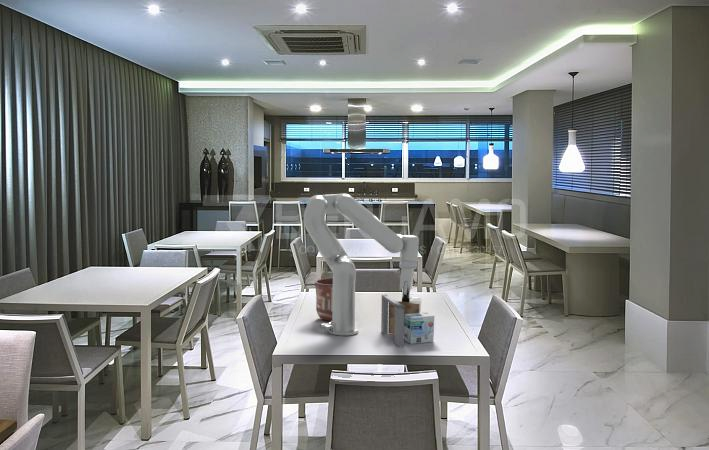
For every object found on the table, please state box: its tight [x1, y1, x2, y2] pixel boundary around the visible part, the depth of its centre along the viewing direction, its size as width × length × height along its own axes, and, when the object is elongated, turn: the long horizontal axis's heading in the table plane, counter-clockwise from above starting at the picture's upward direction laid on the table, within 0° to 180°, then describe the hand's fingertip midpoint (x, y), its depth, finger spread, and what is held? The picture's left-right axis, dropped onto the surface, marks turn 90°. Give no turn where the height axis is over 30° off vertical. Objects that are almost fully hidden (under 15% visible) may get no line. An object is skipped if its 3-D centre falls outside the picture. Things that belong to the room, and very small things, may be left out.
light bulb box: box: [404, 311, 435, 345], centre depth 247 cm, size 11×7×11 cm, turn 111°
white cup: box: [409, 296, 422, 313], centre depth 282 cm, size 8×8×10 cm
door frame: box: [380, 294, 404, 348], centre depth 249 cm, size 2×24×16 cm, turn 14°
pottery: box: [314, 277, 333, 323], centre depth 281 cm, size 18×18×18 cm
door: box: [387, 300, 420, 335], centre depth 254 cm, size 14×1×14 cm, turn 60°
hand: (405, 306), depth 262 cm, fingers closed
